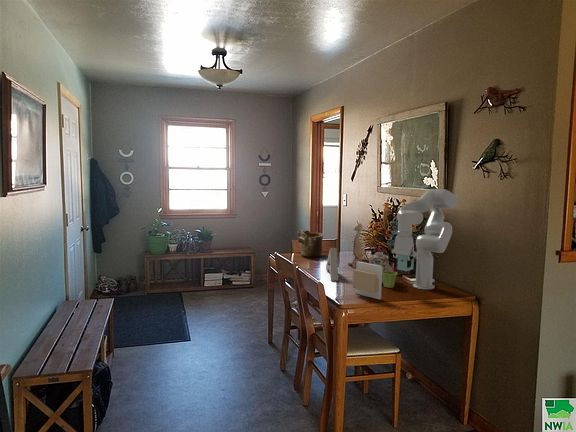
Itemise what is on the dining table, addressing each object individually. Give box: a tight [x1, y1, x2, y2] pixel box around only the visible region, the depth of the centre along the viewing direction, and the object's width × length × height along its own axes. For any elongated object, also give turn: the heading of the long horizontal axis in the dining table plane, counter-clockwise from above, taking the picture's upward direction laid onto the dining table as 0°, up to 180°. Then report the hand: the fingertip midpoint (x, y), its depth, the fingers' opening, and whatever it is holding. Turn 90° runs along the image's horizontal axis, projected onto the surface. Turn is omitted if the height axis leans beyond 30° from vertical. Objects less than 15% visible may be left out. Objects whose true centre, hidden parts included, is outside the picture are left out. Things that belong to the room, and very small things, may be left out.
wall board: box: [352, 261, 383, 300], centre depth 240 cm, size 5×16×18 cm, turn 44°
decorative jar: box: [368, 251, 390, 284], centre depth 277 cm, size 12×12×18 cm
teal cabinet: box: [396, 251, 417, 272], centre depth 246 cm, size 11×6×9 cm, turn 134°
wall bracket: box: [325, 247, 339, 282], centre depth 290 cm, size 22×4×30 cm
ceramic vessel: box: [296, 229, 324, 258], centre depth 354 cm, size 23×24×25 cm
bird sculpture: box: [347, 223, 363, 269], centre depth 317 cm, size 11×12×32 cm
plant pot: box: [382, 270, 398, 289], centre depth 263 cm, size 9×9×9 cm
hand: (403, 265), depth 244 cm, fingers closed on teal cabinet, 6 cm apart
